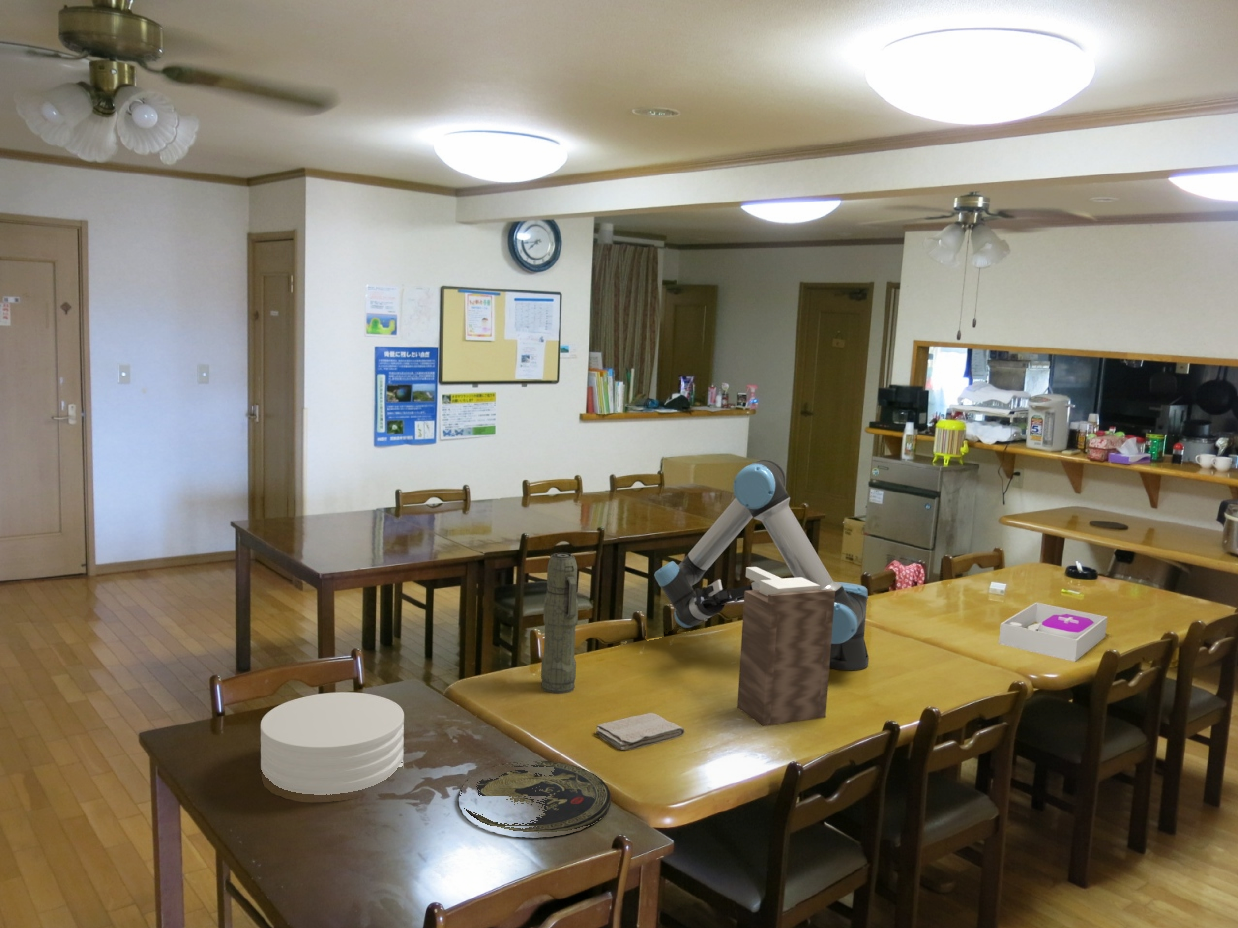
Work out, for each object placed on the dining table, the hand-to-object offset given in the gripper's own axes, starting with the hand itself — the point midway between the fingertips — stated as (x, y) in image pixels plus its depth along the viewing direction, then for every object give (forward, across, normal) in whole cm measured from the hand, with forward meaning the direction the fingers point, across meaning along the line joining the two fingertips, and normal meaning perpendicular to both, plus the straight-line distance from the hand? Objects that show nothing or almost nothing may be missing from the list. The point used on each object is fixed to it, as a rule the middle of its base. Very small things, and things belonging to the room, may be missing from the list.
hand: (742, 582), depth 256 cm
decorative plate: (+24, +71, -47) cm, 88 cm away
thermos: (-23, +47, -18) cm, 55 cm away
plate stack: (+3, +106, -34) cm, 112 cm away
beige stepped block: (+13, -1, -5) cm, 14 cm away
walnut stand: (+4, -1, -34) cm, 35 cm away
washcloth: (+5, +39, -36) cm, 53 cm away
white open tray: (-18, -119, -22) cm, 122 cm away
